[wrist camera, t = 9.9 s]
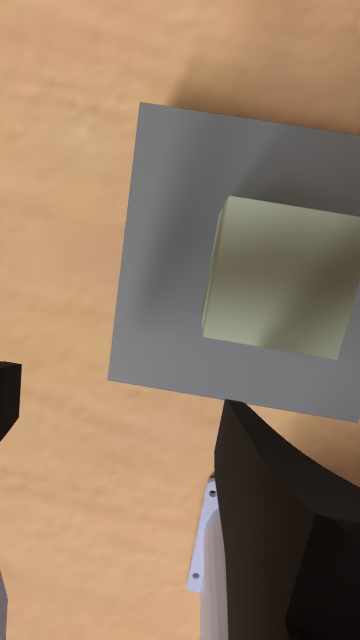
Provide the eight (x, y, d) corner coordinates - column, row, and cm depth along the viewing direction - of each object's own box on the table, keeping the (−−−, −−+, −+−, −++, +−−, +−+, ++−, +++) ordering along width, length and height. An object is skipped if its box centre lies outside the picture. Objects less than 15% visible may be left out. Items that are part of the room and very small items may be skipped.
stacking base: (334, 398, 20) (357, 422, 17) (120, 362, 21) (107, 380, 18) (399, 165, 17) (441, 147, 14) (149, 127, 18) (139, 102, 15)
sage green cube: (295, 328, 16) (337, 360, 12) (201, 312, 17) (202, 337, 12) (320, 230, 15) (377, 219, 11) (219, 214, 16) (229, 195, 11)
